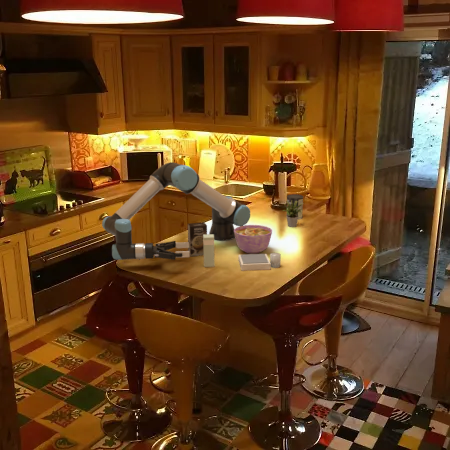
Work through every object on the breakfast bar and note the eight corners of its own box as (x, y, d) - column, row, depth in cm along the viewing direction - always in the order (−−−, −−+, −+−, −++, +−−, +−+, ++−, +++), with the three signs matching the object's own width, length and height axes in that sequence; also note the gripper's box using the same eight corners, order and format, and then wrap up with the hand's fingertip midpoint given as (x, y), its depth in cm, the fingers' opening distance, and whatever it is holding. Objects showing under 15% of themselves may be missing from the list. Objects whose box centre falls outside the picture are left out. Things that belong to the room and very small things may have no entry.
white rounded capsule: (269, 264, 264) (269, 252, 262) (279, 264, 264) (279, 252, 262) (270, 268, 259) (271, 256, 257) (281, 267, 259) (281, 255, 257)
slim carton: (203, 263, 266) (203, 234, 261) (214, 263, 266) (213, 234, 262) (204, 267, 261) (203, 237, 256) (214, 266, 261) (214, 237, 257)
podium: (238, 260, 269) (238, 254, 268) (266, 259, 270) (266, 253, 269) (241, 270, 256) (241, 263, 255) (270, 269, 257) (270, 262, 256)
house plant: (304, 230, 317) (305, 203, 312) (280, 229, 319) (281, 203, 314) (304, 223, 330) (305, 198, 326) (282, 222, 332) (282, 197, 328)
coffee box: (190, 256, 275) (189, 226, 270) (188, 252, 281) (187, 223, 276) (207, 255, 277) (207, 225, 273) (204, 251, 283) (204, 221, 279)
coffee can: (290, 220, 338) (291, 198, 334) (283, 216, 347) (284, 195, 343) (305, 218, 341) (306, 197, 337) (298, 214, 350) (299, 193, 346)
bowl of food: (262, 243, 295) (262, 223, 291) (278, 254, 277) (279, 233, 273) (228, 247, 288) (228, 227, 284) (242, 259, 270) (242, 238, 267)
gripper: (146, 249, 272) (188, 248, 273) (143, 267, 248) (189, 265, 249) (146, 235, 269) (188, 234, 271) (142, 252, 246) (189, 250, 247)
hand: (189, 249), depth 260 cm, fingers open, 13 cm apart
